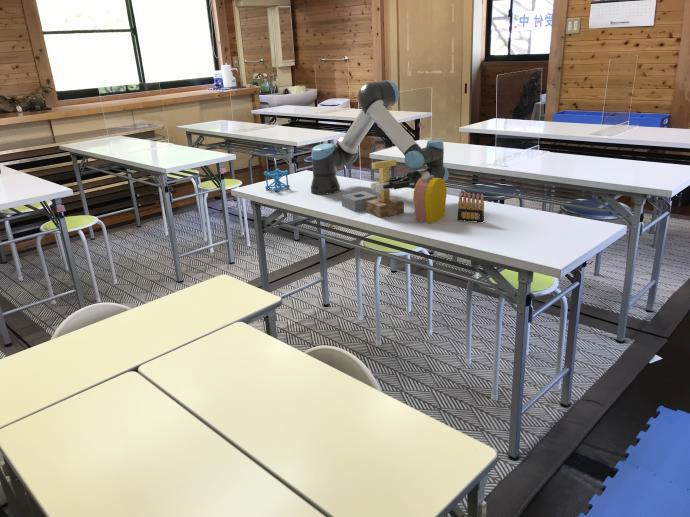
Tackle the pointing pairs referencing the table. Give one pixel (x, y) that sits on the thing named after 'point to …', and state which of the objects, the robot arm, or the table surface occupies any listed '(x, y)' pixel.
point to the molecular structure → (276, 179)
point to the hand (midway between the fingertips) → (373, 187)
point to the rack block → (357, 200)
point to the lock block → (384, 207)
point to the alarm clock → (429, 199)
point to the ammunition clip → (471, 208)
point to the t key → (384, 177)
